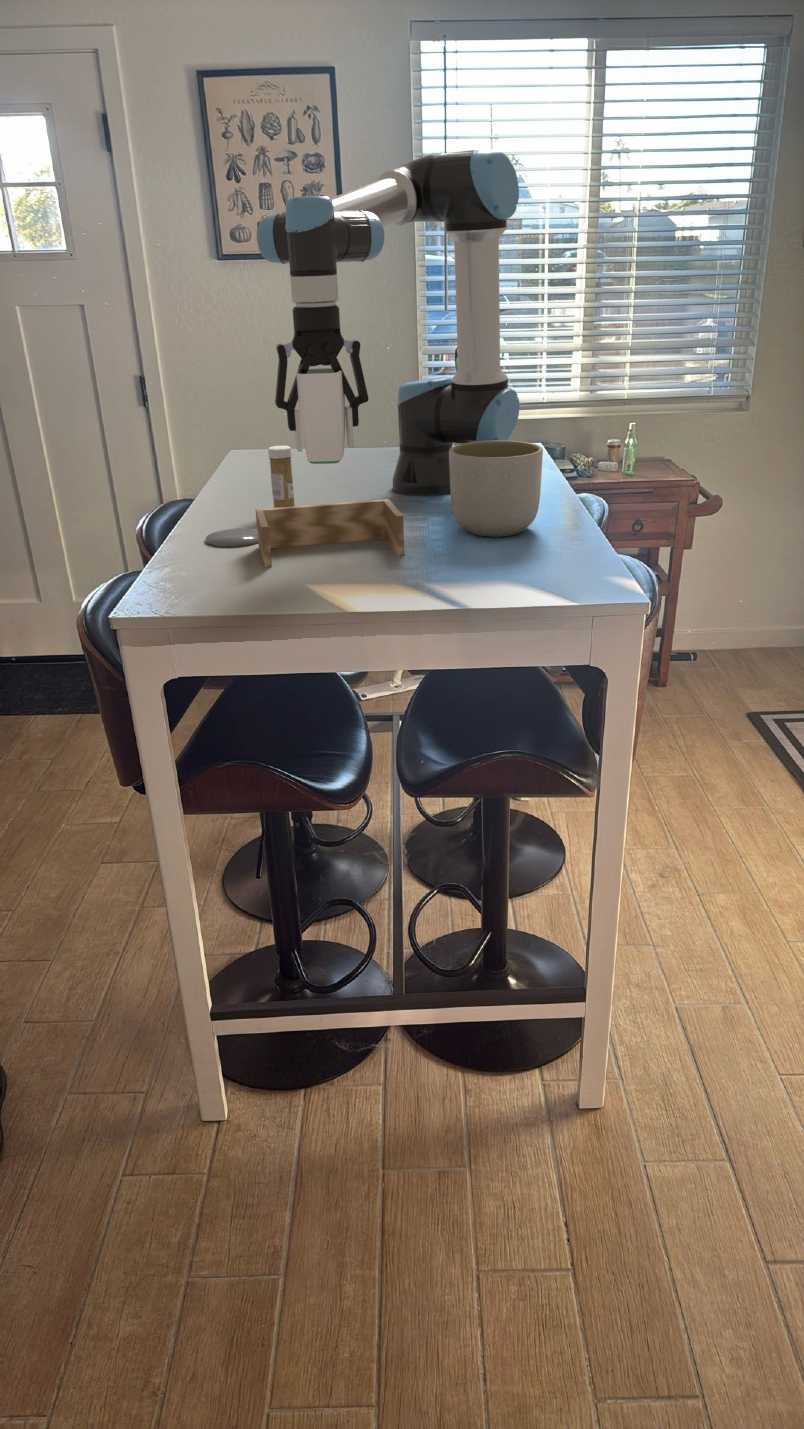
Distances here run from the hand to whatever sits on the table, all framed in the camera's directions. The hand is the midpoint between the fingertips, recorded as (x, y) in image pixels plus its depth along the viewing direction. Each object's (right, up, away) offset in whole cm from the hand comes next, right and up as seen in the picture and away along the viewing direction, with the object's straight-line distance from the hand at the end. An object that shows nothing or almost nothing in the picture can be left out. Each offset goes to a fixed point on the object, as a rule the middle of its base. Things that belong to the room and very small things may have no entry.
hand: (325, 448), depth 170 cm
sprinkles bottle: (-11, -4, +34) cm, 36 cm away
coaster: (-18, -13, +17) cm, 28 cm away
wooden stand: (0, -17, +8) cm, 18 cm away
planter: (+31, -11, +18) cm, 37 cm away
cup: (0, -2, +1) cm, 3 cm away
